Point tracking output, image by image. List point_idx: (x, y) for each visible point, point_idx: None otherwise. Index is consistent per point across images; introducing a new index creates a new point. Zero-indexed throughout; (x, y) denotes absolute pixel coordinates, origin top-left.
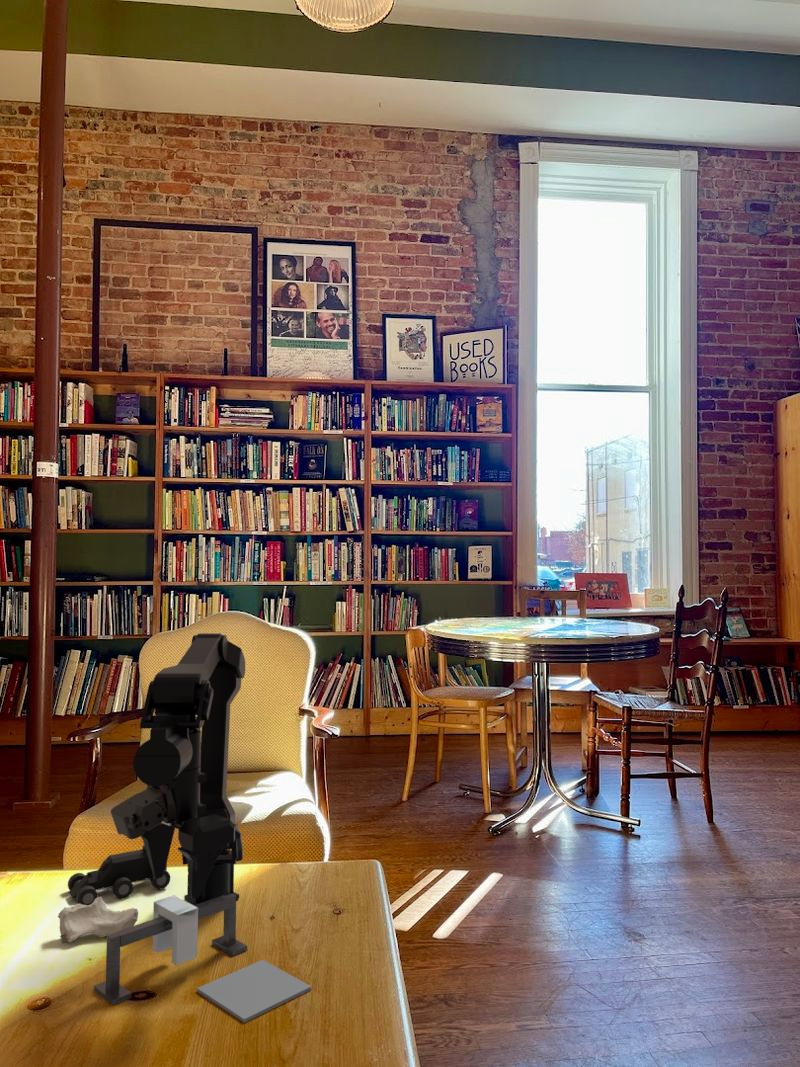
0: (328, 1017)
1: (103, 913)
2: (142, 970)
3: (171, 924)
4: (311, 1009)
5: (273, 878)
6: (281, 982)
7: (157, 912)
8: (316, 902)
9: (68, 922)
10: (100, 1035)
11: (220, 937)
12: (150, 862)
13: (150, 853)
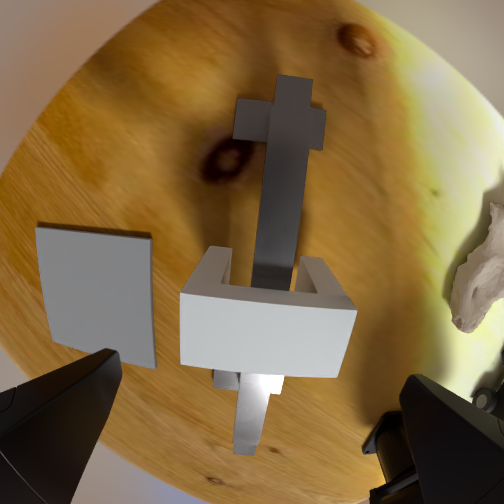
0: (7, 299)
1: (500, 283)
2: (316, 223)
3: None
4: (24, 302)
5: (358, 484)
6: (79, 331)
7: (323, 295)
8: (257, 484)
9: None
10: (169, 46)
11: (279, 383)
12: (462, 403)
13: (480, 431)
